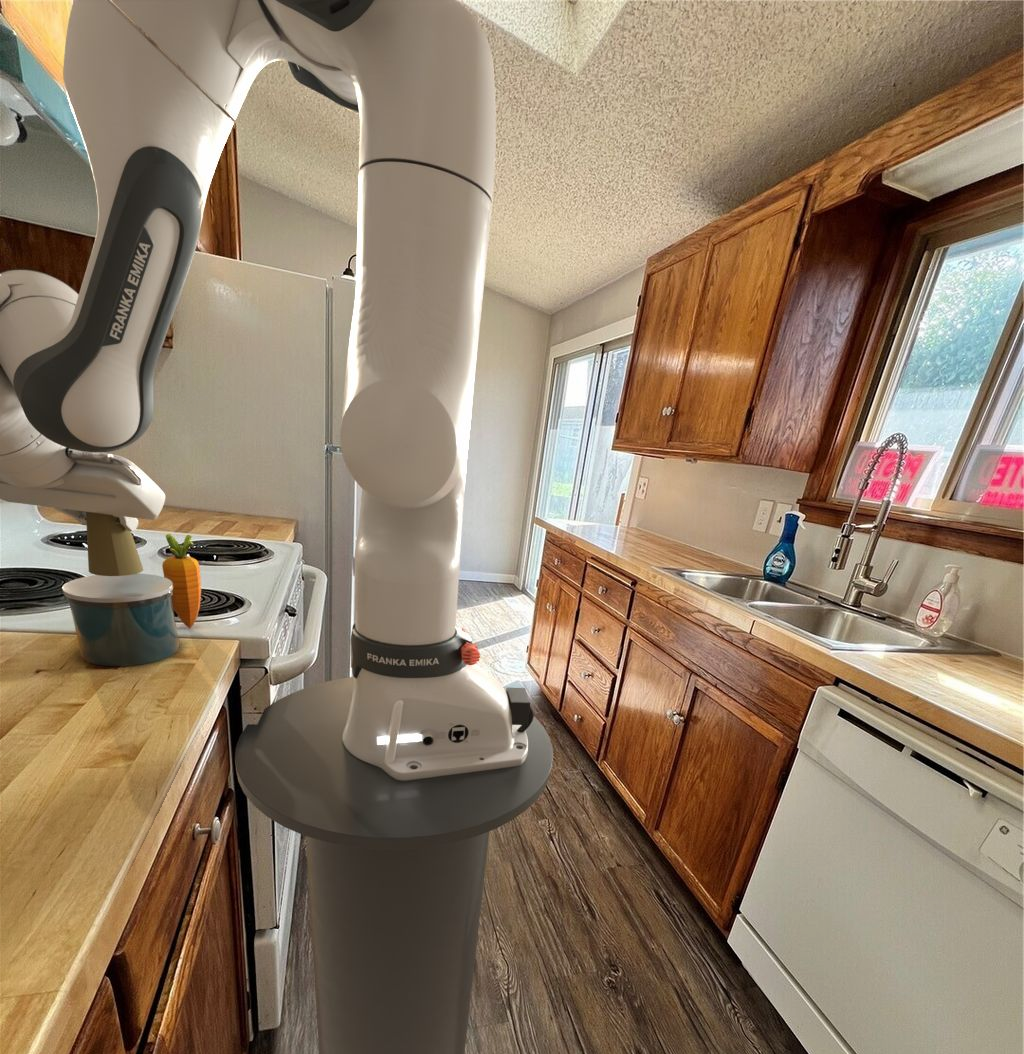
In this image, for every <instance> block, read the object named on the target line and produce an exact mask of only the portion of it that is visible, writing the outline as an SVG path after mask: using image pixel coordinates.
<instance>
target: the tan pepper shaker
mask: <svg viewBox="0 0 1024 1054" xmlns="http://www.w3.org/2000/svg"><path fill="white" fill-rule="evenodd" d="M117 518H119V517H115V516H113V515H109V514H101V513H93V512H86V524H87V525H86V542H87V544H86V545H87V562H88V563H87V564H88V566H87V567H88V572H89V573H90V574H91V575H100V576H126V575H133V574H137V573H139V574H141V573H142V572H143V571H144V567H143V564H142V561H141V558H140V554H139V553H138V549H137V546H136V542H135V539H134V536H133V532H132V531H126V530H123V529H122V528H121V527H119V526H118V525H116V524H115V522H116V520H117Z"/></svg>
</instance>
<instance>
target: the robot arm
mask: <svg viewBox="0 0 1024 1054" xmlns="http://www.w3.org/2000/svg"><path fill="white" fill-rule="evenodd" d="M67 22H68V23H67V28H66V29H67V30H66V36H65V45H64V54H63V55H64V56H63V66H62V67H63V68H62V80H63V85H64V88H65V92H66V96H67V100H68V102H69V106H70V109H71V112H72V114H73V117H74V119H75V122H76V124H77V127H78V130H79V132H80V133H79V134H80V136H81V139H82V142H83V145H84V147H85V151H86V154H87V157H88V161H89V166H90V169H91V173H92V177H93V182H94V186H95V193H96V199H97V227H96V228H97V229H96V234H95V239H94V243H93V246H92V248H91V252H90V256H89V259H88V262H87V266H86V270H85V272H84V276H83V279H82V282H81V285H80V289H79V293H78V291H76V290H75V289H74V288H73V287H71V286H70V285H69V284H68V283H66V282H64V281H62V280H61V279H59V278H58V277H55V276H54V275H51V274H48V273H45V272H43V271H40V270H36V269H35V270H34V269H30V268H29V269H28V268H11V269H6V270H2V271H0V500H2V501H4V502H6V503H7V502H8V503H15V504H21V505H29V506H38V507H46V508H53V509H54V510H56V511H58V512H60V513H63V514H64V515H66V516H68V517H71V518H72V519H74V520H75V521H77V522H78V523H79V524H80V525H81V526H87V524H86V512H93V513H101V514H109V515H113V516H115V517H119V518H117V520H116V522H115V524H116V525H118V526H119V527H121V528H122V529H123V530H126V531H131V532H132V533H133V532H135V531H136V530H137V528H138V527H139V520H138V519H141V520H148V521H155V520H156V519H158V517H159V515H160V513H161V512H162V510H163V508H164V505H165V502H166V494H165V492H164V491H163V489H161V488H160V487H159V485H158V484H157V483H156V482H155V481H154V480H153V479H152V478H151V477H149V475H148V474H146V473H145V472H144V471H143V470H142V469H141V468H140V467H139V466H138V465H136V464H135V463H134V462H132V461H131V460H129V459H128V458H126V457H124V456H121V455H118V454H115V453H110V452H116V451H119V450H122V449H125V448H126V447H128V446H131V445H132V444H134V443H135V442H137V441H138V440H139V439H140V438H141V437H142V436H143V435H144V434H145V433H146V432H147V431H148V429H149V428H150V426H151V423H152V421H153V416H154V409H155V407H154V405H155V403H154V401H155V400H154V399H155V398H154V376H155V371H156V368H157V367H156V365H157V363H158V360H159V356H160V353H161V351H162V348H163V346H164V343H165V340H166V337H167V334H168V330H169V328H170V326H171V323H172V320H173V317H174V314H175V311H176V308H177V306H178V303H179V300H180V297H181V295H182V291H183V289H184V286H185V283H186V280H187V277H188V274H189V271H190V268H191V266H192V262H193V259H194V256H195V252H196V250H197V249H196V248H197V244H198V241H199V237H200V232H201V228H202V223H203V218H204V210H205V206H206V201H207V197H208V193H209V189H210V185H211V182H212V179H213V177H214V174H215V170H216V168H217V165H218V162H219V160H220V157H221V154H222V151H223V150H224V147H225V144H226V143H227V140H228V137H229V135H230V133H231V131H232V128H233V127H234V124H235V120H236V119H237V117H238V115H239V112H240V110H241V108H242V105H243V104H244V102H245V99H246V97H247V94H248V93H249V90H250V87H251V86H252V84H253V83H254V80H255V79H256V77H257V75H258V74H259V73H260V72H261V70H262V69H263V68H264V67H266V66H267V65H268V64H271V63H273V62H278V61H286V63H287V64H288V68H289V70H290V72H291V74H292V76H293V78H294V79H295V80H296V81H297V83H299V84H300V85H302V86H304V87H307V88H308V89H310V90H313V91H315V92H316V93H318V94H320V95H322V96H324V97H326V98H327V99H329V100H330V101H331V102H333V103H335V104H337V105H338V106H340V107H342V108H344V109H346V110H348V111H350V112H351V113H354V114H356V115H358V116H359V147H358V148H359V151H358V183H357V185H358V187H357V191H358V193H357V228H356V229H357V231H356V232H357V233H356V236H357V237H356V271H355V272H356V275H355V276H356V277H355V292H354V303H353V312H352V319H351V324H350V325H351V326H350V333H349V341H348V349H347V357H346V367H345V377H344V389H343V400H342V401H343V402H342V414H341V421H340V428H339V445H340V450H341V455H342V458H343V461H344V463H345V466H346V468H347V471H348V472H349V473H350V475H351V477H352V478H353V480H354V482H356V483H357V485H359V487H360V488H361V496H360V509H359V519H358V528H357V538H356V544H355V550H354V608H355V609H354V618H355V620H354V623H353V624H352V629H351V634H350V639H349V641H350V642H349V645H350V647H349V648H350V650H349V653H350V656H349V657H350V668H351V673H352V677H353V676H354V683H353V692H352V699H351V705H350V711H349V715H348V719H347V723H346V726H345V729H344V732H343V736H342V740H343V744H344V746H345V747H346V749H347V750H348V751H349V752H350V753H351V754H352V755H354V756H355V757H357V758H358V759H360V760H362V761H365V762H367V763H370V764H372V765H375V766H378V767H380V768H382V769H383V770H384V771H385V772H386V773H387V774H389V775H390V776H391V777H393V778H394V779H397V780H401V781H407V780H414V779H422V778H430V777H438V776H445V775H453V774H461V773H468V772H476V771H484V770H491V769H499V768H507V767H514V766H519V765H521V764H522V763H523V762H524V761H525V759H526V757H527V754H528V738H527V734H526V731H525V730H526V729H527V728H528V727H529V726H530V724H531V723H532V721H533V717H535V713H534V709H533V707H532V706H531V701H530V697H529V695H528V692H527V690H526V687H507V686H506V688H504V686H503V685H502V683H501V682H500V681H499V680H498V679H497V678H496V677H495V676H493V675H492V674H491V673H489V672H488V671H486V670H485V669H484V668H482V667H481V666H480V665H478V664H477V663H478V662H479V661H480V658H481V654H480V653H481V652H480V651H479V647H478V646H477V645H476V644H475V643H473V638H472V637H471V636H470V635H469V634H468V632H467V630H466V629H465V627H461V629H460V628H459V627H457V612H458V599H459V598H458V597H459V585H460V584H459V582H460V569H461V568H460V567H461V552H462V550H461V549H462V537H463V523H464V522H463V520H464V507H465V506H464V503H465V490H466V477H467V475H466V474H467V462H468V461H467V460H468V452H469V451H468V450H469V440H470V431H471V421H472V412H473V411H472V410H473V402H474V401H473V399H474V392H475V391H474V390H475V380H476V379H475V378H476V369H477V359H478V350H479V340H480V339H479V338H480V330H481V329H480V328H481V321H482V309H483V299H484V291H485V289H484V288H485V281H486V280H485V279H486V270H487V269H486V268H487V260H488V259H487V258H488V248H489V240H490V231H491V219H492V212H493V211H492V210H493V199H494V189H495V187H494V186H495V173H496V151H497V150H496V149H497V148H496V146H497V145H496V144H497V113H496V111H497V109H496V107H497V106H496V85H495V67H494V58H493V53H492V49H491V46H490V43H489V40H488V37H487V35H486V33H485V31H484V29H483V27H482V26H481V24H480V23H479V21H478V20H477V19H476V17H475V16H474V14H472V13H471V12H470V10H469V9H468V8H467V7H465V6H464V5H463V4H461V3H460V2H459V1H457V0H73V2H72V5H71V9H70V13H69V18H68V21H67Z"/></svg>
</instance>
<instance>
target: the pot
mask: <svg viewBox="0 0 1024 1054" xmlns="http://www.w3.org/2000/svg"><path fill="white" fill-rule="evenodd" d="M61 590H62V594H63V595H64V599H65V600H66V602H67V603H68V604H69V607H70V612H71V616H72V621H73V625H74V629H75V633H76V634H75V635H76V637H77V642H78V646H79V650H80V654H81V655H80V656H81V658H82V659H83V660H84V661H85V662H87V663H89V664H92V665H96V666H103V667H133V666H140V665H146V664H152V663H156V662H159V661H162V660H165V659H167V658H169V657H171V656H173V655H174V654H176V653H177V652H178V651H179V649H180V642H179V637H178V629H177V622H176V617H175V616H176V615H175V610H174V608H173V603H172V597H171V596H172V595H173V583H172V581H171V580H169V579H167V578H165V577H164V576H161V575H157V574H149V573H137V574H133V575H126V576H100V575H95V574H93V575H89V576H83V577H78V578H75V579H73V580H70V581H68V582H66V583H64V584H63V585H62V587H61Z"/></svg>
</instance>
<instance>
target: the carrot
mask: <svg viewBox="0 0 1024 1054" xmlns="http://www.w3.org/2000/svg"><path fill="white" fill-rule="evenodd" d="M192 537H193V536H192V535H190V534H186V536H185V537H184V539H183V543H182V544H183V545H182V544H181V545H180V544H179V543H178V541H177V539H176V538H175V537H174V535H172V534H171V533H167V534H165V539H166V541H167V543H168V546H169V547H170V548H169V551H170V552H171V553H172V554H173V555H171V556H168V557H167V558H166V559H165V560H163V562H162V566H161V567H162V572H163V577H165V578H167V579H169V580H171V581H172V583H173V595H172V596H171V597H172V603H173V610H174V613H175V614H176V615H177V617H178V619H180V621H181V622H182V623H183V625H184V626H186V627H187V628H188V629H191V628H192V627H193V626H194V625H195V622H196V620H197V617H198V616H199V611H200V608H201V600H202V599H201V598H202V583H201V580H202V579H201V570H200V563H199V561H198V560H197V559H196V558H194V557H192V556H189V555H187V552H188V550H189V549H190V547H192V546H194V542H193V541H191V540H192Z"/></svg>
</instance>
